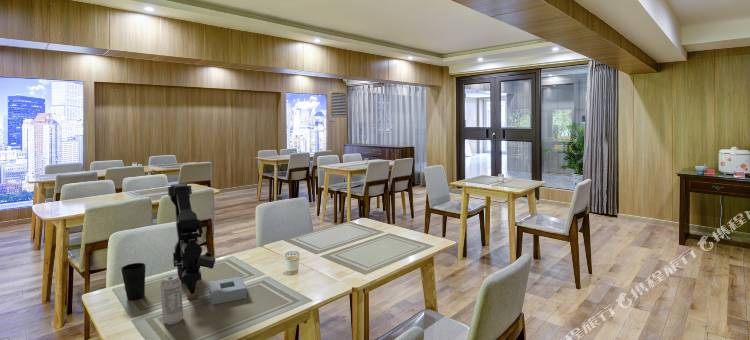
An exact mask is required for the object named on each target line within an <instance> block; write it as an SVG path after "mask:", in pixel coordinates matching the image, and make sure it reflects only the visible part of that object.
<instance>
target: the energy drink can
mask: <svg viewBox="0 0 750 340" xmlns="http://www.w3.org/2000/svg"><path fill="white" fill-rule="evenodd" d="M161 279H162V280H161V282H160V285H159V286H160V297H161V298H160V299H161V310H162V321H163V323H164V324H165V325H168V326H169V325H176V324H178V323H180V322H181V321H182V319H183V318H184V306H183V305H184V304H183V291H182V290H183V289H182V281H181V280H180V279H179V276H178V274H169V275H165V276H163V277H162V278H161Z"/></svg>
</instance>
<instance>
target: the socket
mask: <svg viewBox="0 0 750 340" xmlns="http://www.w3.org/2000/svg"><path fill="white" fill-rule="evenodd" d="M208 289H209V295H210V296H209V297H210V301H211V305H212V306H213V305H214V306H215V305H218V304H224V303H228V302H234V301H238V300H244V299H247V297H248V296H247V295H248V294H247V287H246V284H245V281H244V279H243V277H242V276H236V277H231V278H225V279H219V280H218V279H217V280H213V281H208Z"/></svg>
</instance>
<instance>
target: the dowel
mask: <svg viewBox="0 0 750 340" xmlns="http://www.w3.org/2000/svg"><path fill="white" fill-rule="evenodd" d="M198 292H199V290H198V281H196V286H195V291H194V294H191V293H190V292H189V290H188V288H187V287H186V296H187V300H188V301H195V300H197V299H198V298H199V293H198Z"/></svg>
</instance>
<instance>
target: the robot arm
mask: <svg viewBox="0 0 750 340" xmlns="http://www.w3.org/2000/svg"><path fill="white" fill-rule="evenodd" d="M167 195H168V197H169V198H170V201H171V202H172V204H173V205H174V207H175V208H174V210H175V229H176V233H177V234H176V235H177V241H176V243H175V245H174V247H173V249H174V250H173V252H172V265H173V268H176V271H177V275H178V276H179V279H180V280H181V284H184V285H185V287H186V289H187V288H188V290H189V292H190V293H191V294H194V291H195V286H196V281H197V282H199V281H200V282H201V281H202V271H201V270H200V269H201V267H203V268H206V269H207V268H208V269H210V270H211V269H214V266H215V263H216V257H214V256H212V253H211V251H206V252H205V253H204V254H202V253H203V248H202V246H201V244H200V243H199V240H198V239H199V238H202V236H203V234H204V230H203V224H202V221H201V219H198V215H197V213H196V212H195V211H193V210H192V205H191V200H190V199H191V197H190V196H191V195H193V191H192V185H188V183H177V184H176V183H175V184H170V186H169V187H167Z"/></svg>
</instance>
